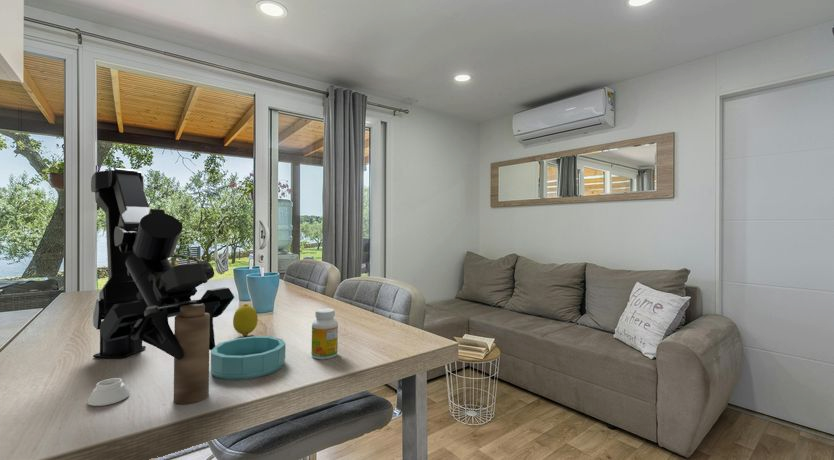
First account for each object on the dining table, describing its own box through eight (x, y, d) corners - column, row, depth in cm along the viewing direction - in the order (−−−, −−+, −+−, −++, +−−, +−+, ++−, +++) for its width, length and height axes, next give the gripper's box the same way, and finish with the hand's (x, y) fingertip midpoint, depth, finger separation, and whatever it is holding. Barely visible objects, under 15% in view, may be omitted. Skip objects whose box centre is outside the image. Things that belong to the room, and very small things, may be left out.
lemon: (248, 340, 90) (248, 306, 90) (227, 338, 91) (228, 305, 91) (262, 333, 96) (262, 302, 96) (242, 332, 97) (243, 301, 97)
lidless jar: (115, 407, 57) (136, 393, 62) (116, 388, 57) (136, 375, 62) (79, 409, 56) (102, 394, 61) (79, 389, 56) (103, 376, 61)
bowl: (195, 379, 67) (196, 356, 67) (232, 354, 80) (232, 335, 80) (268, 380, 67) (268, 358, 67) (293, 355, 80) (293, 336, 80)
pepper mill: (166, 404, 58) (167, 309, 57) (185, 390, 62) (187, 303, 62) (197, 404, 57) (198, 309, 57) (214, 391, 62) (215, 303, 62)
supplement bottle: (306, 355, 80) (307, 310, 80) (328, 349, 84) (328, 306, 84) (320, 362, 76) (321, 314, 76) (342, 355, 80) (343, 310, 80)
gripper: (111, 247, 53) (157, 336, 48) (228, 243, 70) (271, 309, 65) (81, 298, 56) (122, 386, 52) (199, 282, 73) (238, 348, 69)
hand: (197, 352), depth 59 cm, fingers closed on pepper mill, 5 cm apart
